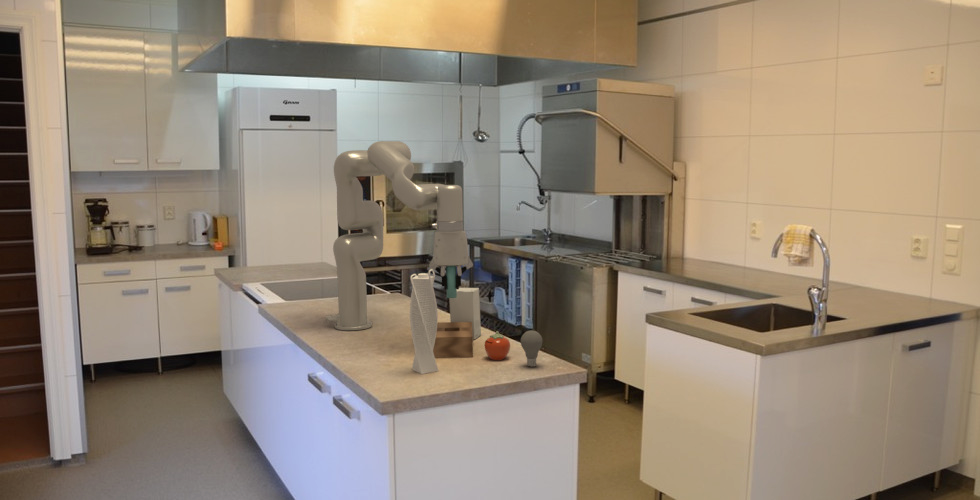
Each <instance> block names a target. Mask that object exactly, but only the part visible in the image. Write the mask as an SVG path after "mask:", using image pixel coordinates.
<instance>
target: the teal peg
mask: <svg viewBox="0 0 980 500" xmlns="http://www.w3.org/2000/svg"><path fill="white" fill-rule="evenodd" d="M445 273H446V277H447V289H446V298H447V299H449V298H456V297H457V289H456V275H457V266H445Z"/></svg>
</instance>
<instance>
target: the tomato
mask: <svg viewBox="0 0 980 500" xmlns="http://www.w3.org/2000/svg"><path fill="white" fill-rule="evenodd" d="M495 331H496V332H495V334H492V335H490V336H489V337H488V338H487V339H486V340H485V342H484V351H485V353H486V355H487V357H489V359H490V360H492V361H502V360H504V359H505V358H506V357H507V356H508V355H509V352H510V350H511V342H510V340H509V339H508V338H506V337H505V336H504V335H503V334H500V332H499V331H498V330H495Z"/></svg>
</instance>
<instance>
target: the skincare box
mask: <svg viewBox="0 0 980 500" xmlns="http://www.w3.org/2000/svg"><path fill="white" fill-rule="evenodd" d="M448 300H449V316H450V318H449V320H450V321H449V322H472V335H473V340H476V339H477V338H479V337H480V336H481V335H482V329H481V327H482V326H481V305H480V304H481V303H480V288H479V287H459V289H457V297H456V298H448Z"/></svg>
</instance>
